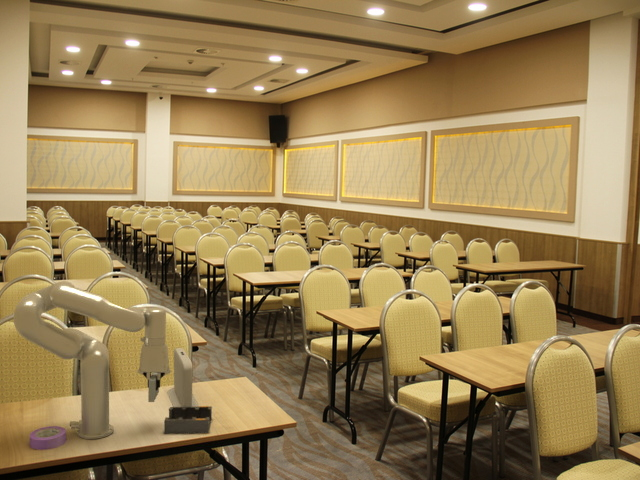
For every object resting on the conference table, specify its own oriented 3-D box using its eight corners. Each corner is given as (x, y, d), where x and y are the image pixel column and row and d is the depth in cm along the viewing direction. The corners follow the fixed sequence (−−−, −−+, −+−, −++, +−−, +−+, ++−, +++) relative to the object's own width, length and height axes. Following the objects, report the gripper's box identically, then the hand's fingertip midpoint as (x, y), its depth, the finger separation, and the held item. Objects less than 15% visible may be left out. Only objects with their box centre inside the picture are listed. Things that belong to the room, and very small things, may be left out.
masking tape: (50, 452, 204) (50, 441, 203) (21, 447, 207) (21, 436, 206) (73, 438, 215) (73, 428, 215) (45, 434, 218) (45, 424, 218)
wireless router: (201, 411, 244) (201, 363, 242) (176, 414, 240) (176, 365, 239) (188, 387, 273) (188, 344, 271) (165, 389, 269) (166, 345, 267)
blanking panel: (148, 402, 220) (148, 380, 220) (153, 392, 231) (153, 371, 231) (153, 402, 221) (154, 380, 220) (158, 392, 232) (159, 371, 231)
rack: (164, 433, 221) (164, 420, 220) (170, 419, 234) (170, 406, 234) (208, 433, 222) (208, 419, 222) (211, 418, 236) (211, 405, 236)
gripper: (131, 343, 220) (130, 392, 221) (175, 344, 221) (173, 392, 223) (135, 338, 227) (134, 385, 229) (177, 339, 229) (176, 386, 230)
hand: (153, 389), depth 226 cm, fingers closed on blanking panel, 1 cm apart
